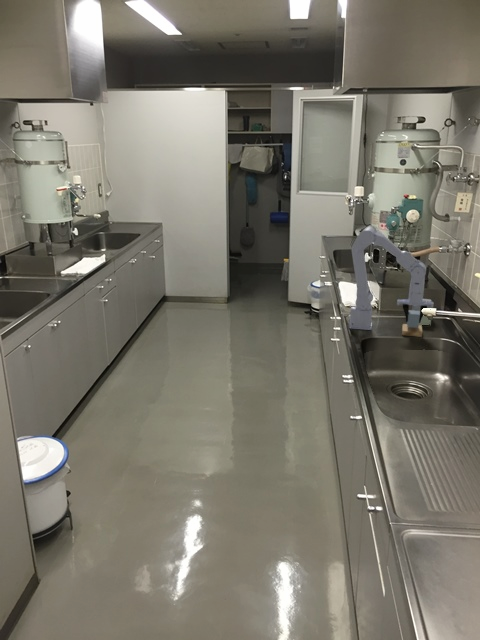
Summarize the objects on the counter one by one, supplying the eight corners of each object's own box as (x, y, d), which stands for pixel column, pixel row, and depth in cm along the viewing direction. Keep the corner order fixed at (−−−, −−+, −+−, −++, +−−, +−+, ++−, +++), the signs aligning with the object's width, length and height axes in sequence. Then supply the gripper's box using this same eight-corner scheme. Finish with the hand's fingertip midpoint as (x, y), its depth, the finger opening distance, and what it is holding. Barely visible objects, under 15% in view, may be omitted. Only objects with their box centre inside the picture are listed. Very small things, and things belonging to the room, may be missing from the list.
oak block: (402, 335, 222) (402, 330, 221) (402, 328, 229) (402, 323, 229) (421, 336, 220) (422, 332, 219) (421, 329, 227) (421, 325, 226)
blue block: (407, 326, 222) (408, 313, 220) (407, 323, 226) (408, 310, 224) (418, 327, 221) (419, 314, 219) (417, 324, 225) (419, 311, 223)
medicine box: (429, 317, 241) (431, 299, 238) (428, 320, 237) (430, 302, 234) (412, 314, 244) (413, 297, 241) (410, 318, 240) (412, 300, 237)
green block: (418, 325, 232) (419, 315, 230) (415, 320, 237) (417, 310, 235) (430, 326, 231) (431, 315, 229) (427, 321, 237) (428, 310, 235)
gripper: (398, 293, 216) (395, 323, 221) (435, 295, 212) (431, 326, 217) (398, 288, 222) (395, 317, 227) (434, 290, 219) (430, 320, 224)
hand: (413, 321), depth 223 cm, fingers closed on blue block, 4 cm apart
